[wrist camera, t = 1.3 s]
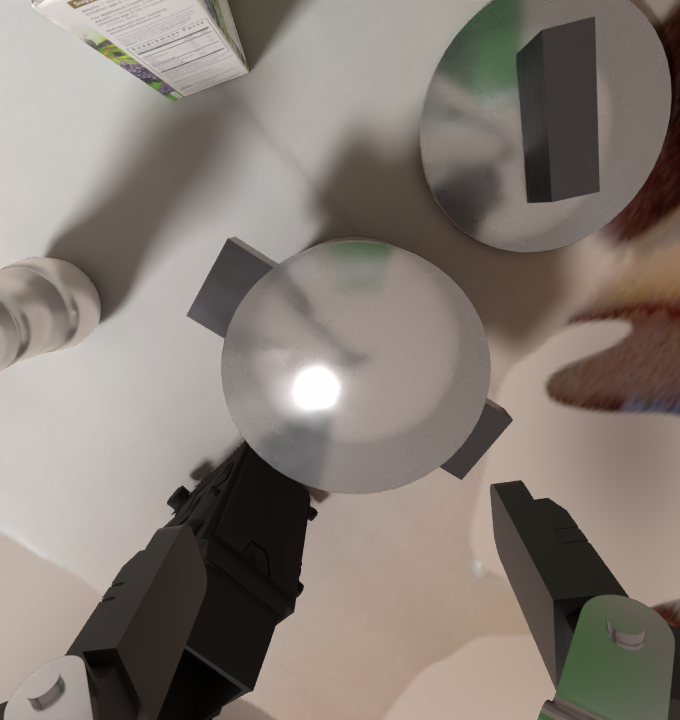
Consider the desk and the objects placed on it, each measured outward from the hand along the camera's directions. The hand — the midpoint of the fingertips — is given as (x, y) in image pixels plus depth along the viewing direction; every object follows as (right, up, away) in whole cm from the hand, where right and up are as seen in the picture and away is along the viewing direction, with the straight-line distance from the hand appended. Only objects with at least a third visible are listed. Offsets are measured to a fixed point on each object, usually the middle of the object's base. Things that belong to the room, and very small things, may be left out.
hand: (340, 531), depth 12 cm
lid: (+13, +20, +18) cm, 30 cm away
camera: (-10, -9, +29) cm, 31 cm away
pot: (+1, +7, +23) cm, 24 cm away
